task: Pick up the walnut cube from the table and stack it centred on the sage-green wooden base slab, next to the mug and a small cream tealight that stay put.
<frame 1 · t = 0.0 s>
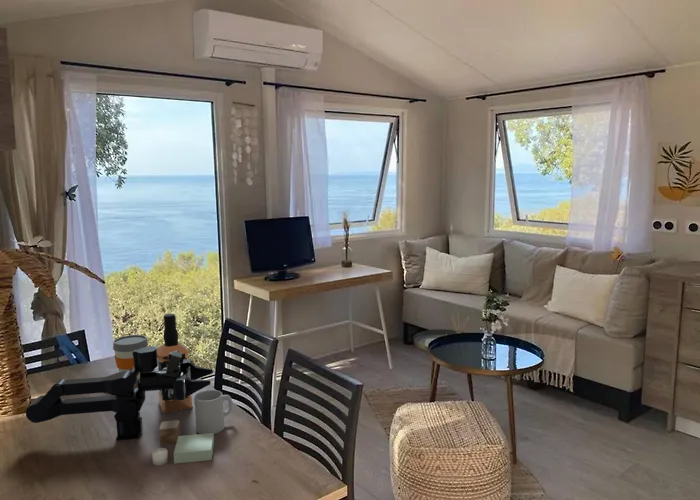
hand: (211, 376, 171), 17 cm above the table, tool horizontal, fingers open, 9 cm apart
base slab: (194, 452, 158), on the table
mug: (215, 427, 173), on the table
reusable coffee cup: (133, 377, 215), on the table
cream tealight: (160, 461, 154), on the table
whiskey bottle: (175, 405, 189), on the table
walnut cube: (170, 440, 165), on the table
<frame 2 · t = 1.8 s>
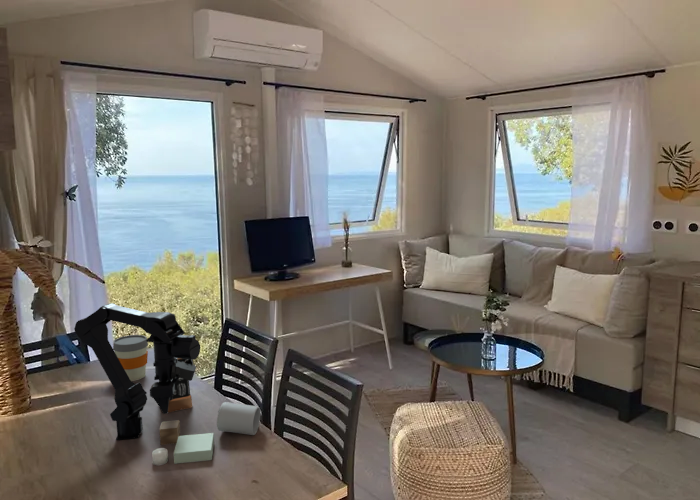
hand: (168, 406, 164), 11 cm above the table, tool pointing down, fingers open, 9 cm apart
mug: (223, 415, 171), point 5 cm above the table
everything else where it was.
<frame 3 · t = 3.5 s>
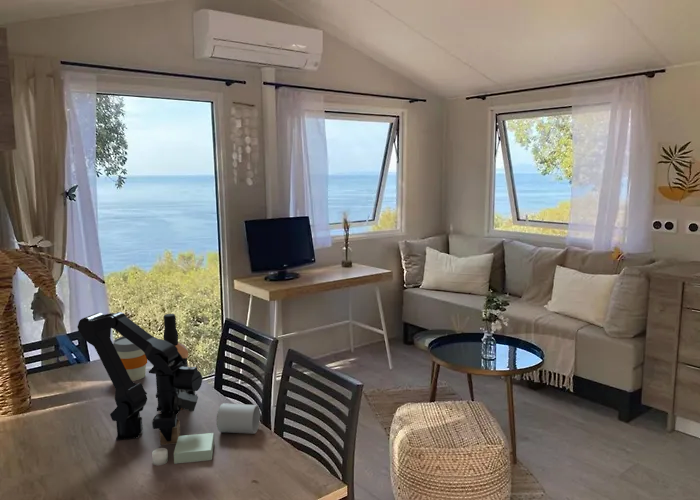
hand: (170, 436, 165), 1 cm above the table, tool pointing down, fingers closed on walnut cube, 5 cm apart
mug: (222, 417, 172), point 3 cm above the table
walnut cube: (170, 440, 165), on the table, touching gripper
everything else where it was.
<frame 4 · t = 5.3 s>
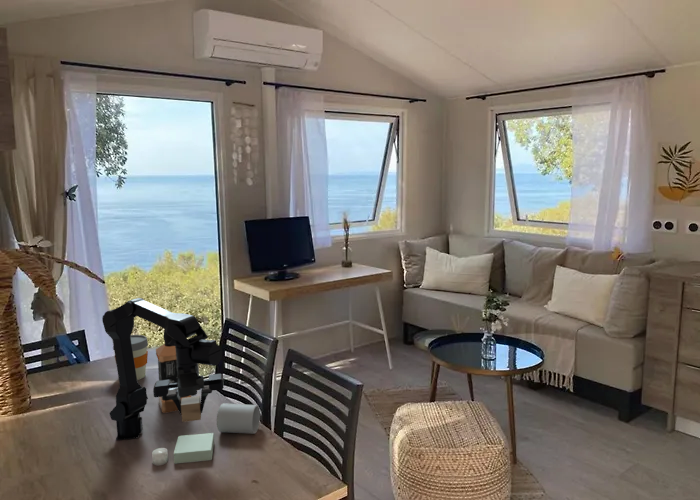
hand: (191, 413, 157), 12 cm above the table, tool pointing down, fingers closed on walnut cube, 5 cm apart
walnut cube: (191, 417, 157), point 11 cm above the table, touching gripper
everything else where it was.
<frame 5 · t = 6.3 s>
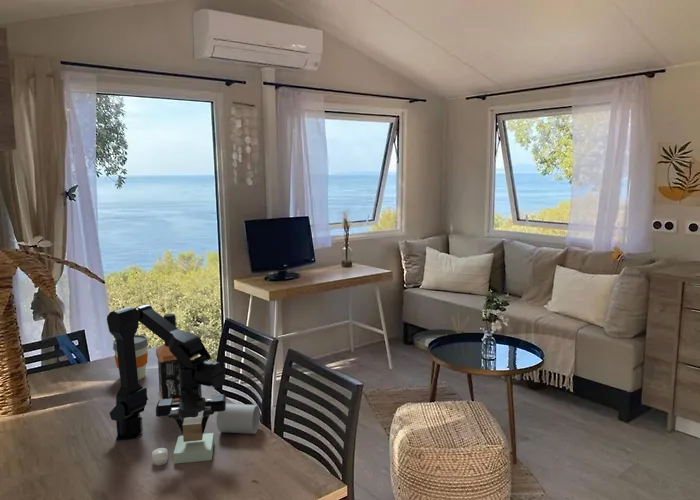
hand: (193, 433, 157), 6 cm above the table, tool pointing down, fingers closed on walnut cube, 5 cm apart
walnut cube: (193, 436, 157), point 5 cm above the table, touching gripper
everything else where it was.
when the fingers open (5 cm above the table, at t = 6.9 s): walnut cube stays where it is, resting on base slab.
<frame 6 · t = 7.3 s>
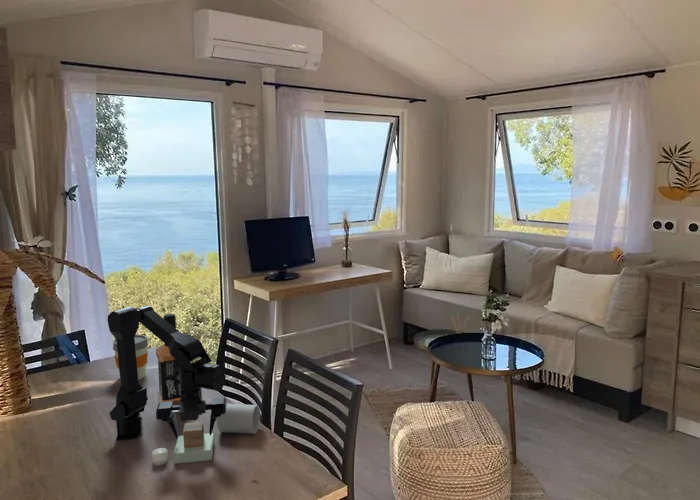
hand: (193, 436, 157), 5 cm above the table, tool pointing down, fingers open, 9 cm apart
walnut cube: (194, 442, 157), point 3 cm above the table, touching base slab
everything else where it was.
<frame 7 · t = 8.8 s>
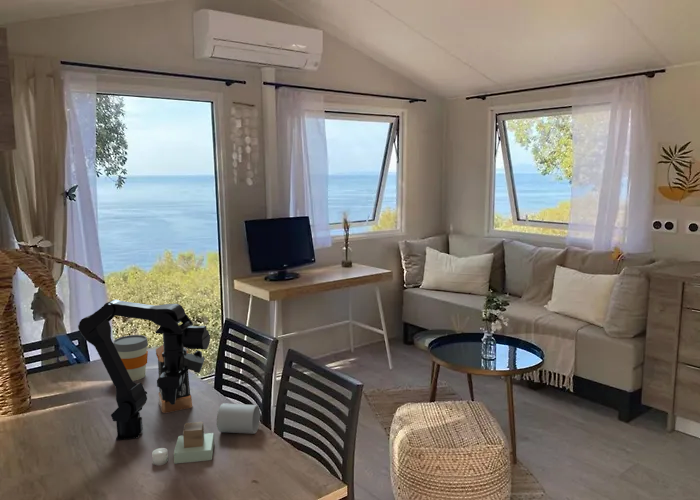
hand: (176, 397, 165), 13 cm above the table, tool pointing down, fingers open, 9 cm apart
nothing on the table moved.
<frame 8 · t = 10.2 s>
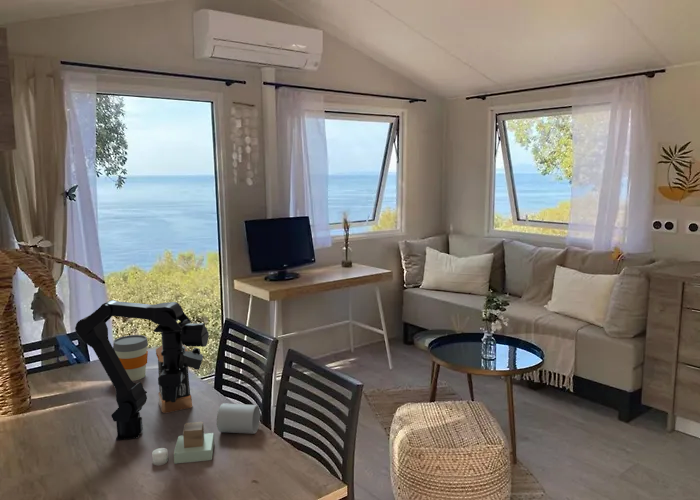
hand: (175, 395, 166), 13 cm above the table, tool pointing down, fingers open, 9 cm apart
nothing on the table moved.
at the end: walnut cube inside the target area on the base slab (0.0 cm from its centre), point 3.0 cm above the base slab's base; walnut cube tilted 0°; the gripper is holding nothing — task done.
